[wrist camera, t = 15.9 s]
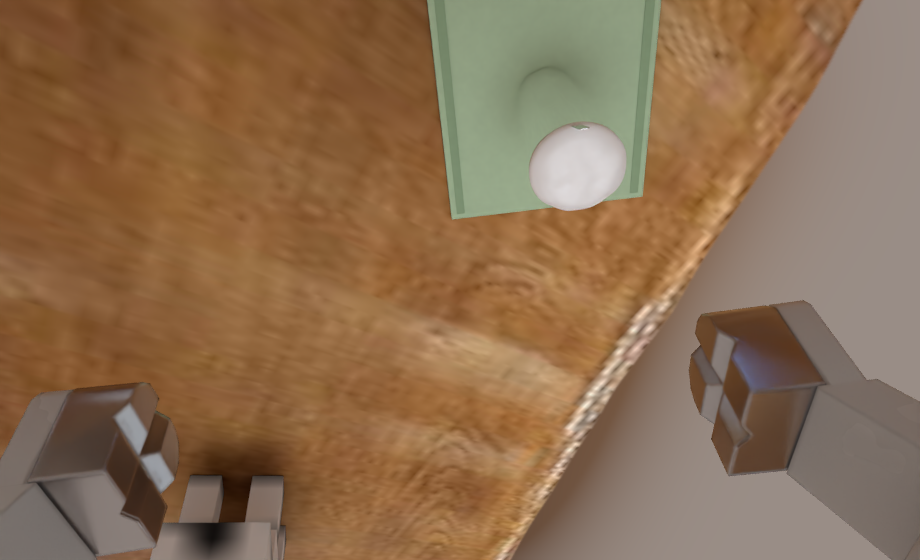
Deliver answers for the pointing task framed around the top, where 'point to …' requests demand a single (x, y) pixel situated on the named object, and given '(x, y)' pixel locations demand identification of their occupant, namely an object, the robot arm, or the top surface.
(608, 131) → the milkshake
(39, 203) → the top surface
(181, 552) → the toy llama
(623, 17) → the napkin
